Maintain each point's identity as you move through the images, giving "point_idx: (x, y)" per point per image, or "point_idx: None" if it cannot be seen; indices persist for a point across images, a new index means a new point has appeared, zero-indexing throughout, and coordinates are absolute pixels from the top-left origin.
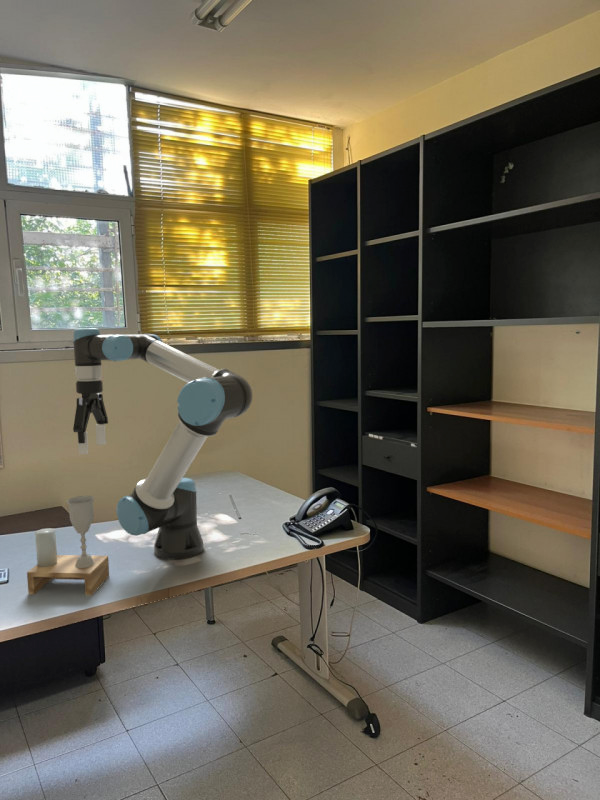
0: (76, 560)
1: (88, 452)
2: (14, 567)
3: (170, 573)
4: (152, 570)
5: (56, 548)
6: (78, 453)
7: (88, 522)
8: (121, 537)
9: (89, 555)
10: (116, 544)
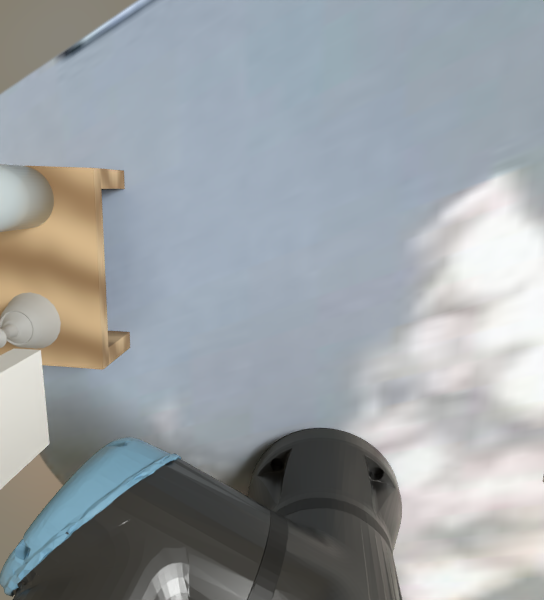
0: (58, 283)
1: (44, 448)
2: (177, 7)
3: None
4: (176, 450)
5: (7, 230)
6: (10, 350)
7: None
8: (461, 284)
9: (26, 341)
10: (387, 288)
